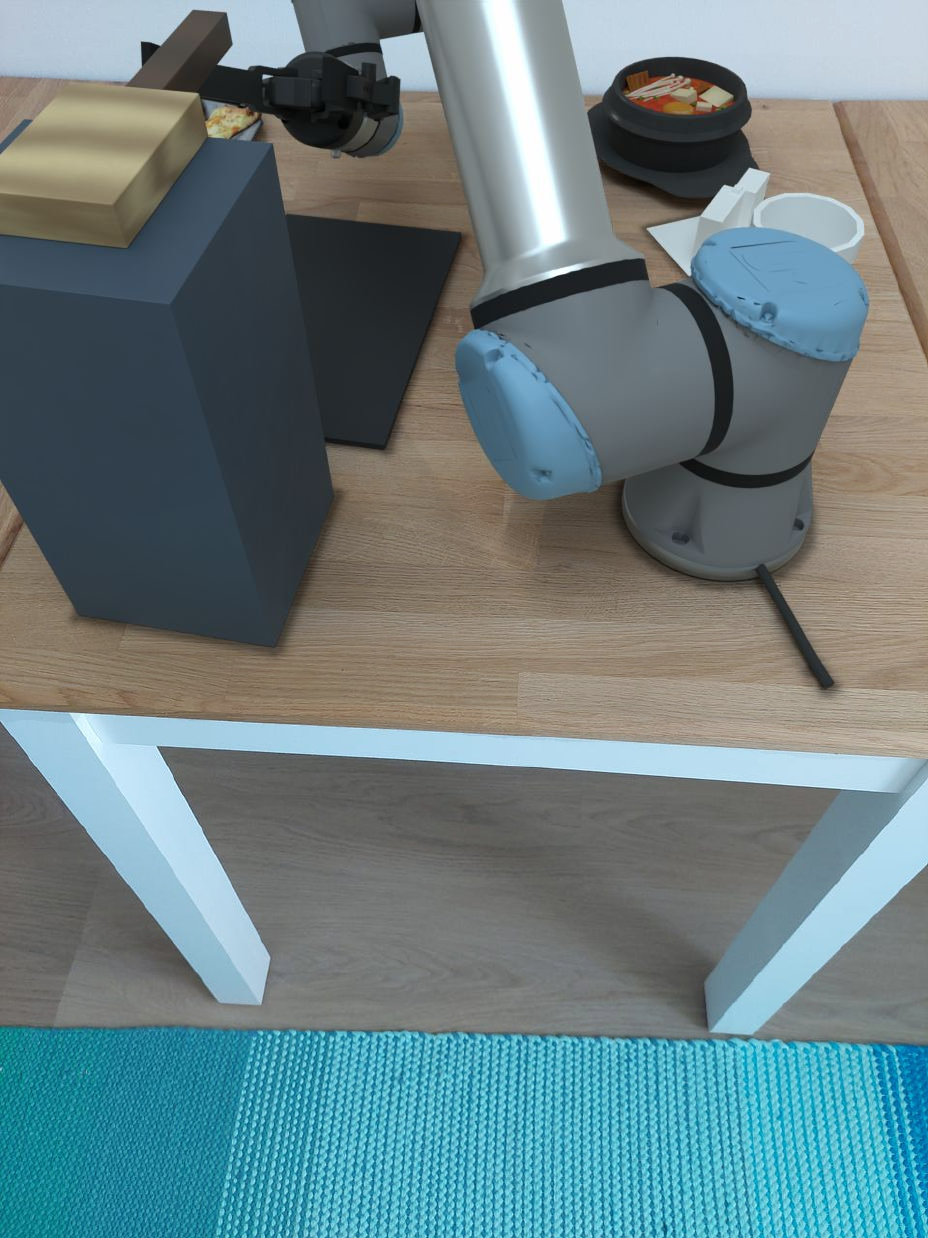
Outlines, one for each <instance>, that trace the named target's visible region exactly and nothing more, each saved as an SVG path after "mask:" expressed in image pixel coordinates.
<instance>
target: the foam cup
mask: <svg viewBox="0 0 928 1238" xmlns="http://www.w3.org/2000/svg"><path fill="white" fill-rule="evenodd" d="M864 223H865V222H864V220H863V218H861V217H860V215H859V214H858V213H857V212H856V211H855V210H854V209H853V208H852V207H850V206H849V205H846V204H845V203H843V202H841V201H839V200H836V199H834V198H833V197H829V196H824V195H820V194H816V193H809V192H786V193H785V192H784V193H781V194H777V195H773V196H771V197H768V198H764V200H763V201H762V202H761V203H760V204H759V205H758V206H757V207H756V208H755V209H754V211H753V215H752V219H751V223H750V226H749V227H762V228H771V229H777V230H782V231H786V232H790V233H793V234H796V235H799V236H801V237H805V238H807V239H810V240H812V241H815V242H817V243H819V244H821V245H823V246H825V247H827V248H829V249H830V250H832V251H834V252H835V253H837V254H838V255H839V256H841V257H842V258H843V259H844V260H846V261H847V262H848V263H849V264H850V265H851V266H852V264H853V263H854V262H855V260H856V259H857V257H858V253H859V251H860V248H861V245H862V243H863V240H864V237H865V225H864Z"/></svg>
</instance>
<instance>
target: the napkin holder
mask: <svg viewBox="0 0 928 1238" xmlns="http://www.w3.org/2000/svg"><path fill="white" fill-rule="evenodd" d="M770 177H771V173H770V172H767V171H763V170H761V169H760V170H756V169H752V168H749V169H748V170H747V172H746V173H745V174H744V176H743V177H742V178H741V180H740V181H739V182H738V184H737V185H735V186H734V187H730V186H727V185H724V186H723V187H722V188H721V190H720V191H719V192H718V194H717V195H716V196H715V197H713V198H712V200H711V201H710V203H708V205H707V206H706V208H705V209H704V210H703V212H702V213H701V215H698V216H693V217H689V218H686V219H681V220H677V221H672V222H668V223H664V224H660V225H654V226H651V227H646V228H645V229H646V230H647V231H648V233H649V234H650V235H651V236H652V237H653V238H654V239H655V240H656V241H657V243H658V244H659V245H660V246H661V248H663V249H664V250H665V251H666V253H667V254H668V255H669V256H670V257H671V258H672V260H674V262H675V263H676V264H677V265H678V266H679V267H680V268H681V269H682V270H683V272H684V273H685V274H686V275H687V276H688V277H690V275H691V274H692V273H691V269H690V266H691V260H692V258H693V257H694V256H695V255H696V254H697V251H698V250H699V249H700V248H701V245H702V243H703V242H704V241H705V240H706V239H707V238H709V237H710V236H712V235H714V234H716V233H718V232H720V231H723V230H727V229H732V228H740V227H749V226H750V223H751V219H752V215H753V211H754V209H755V208H756V207H757V206H758V205H759V204H760V203H761V202H762V201H764V200H765V195H766V192H767V188H768V185H769V181H770Z"/></svg>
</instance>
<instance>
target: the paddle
mask: <svg viewBox="0 0 928 1238" xmlns="http://www.w3.org/2000/svg"><path fill="white" fill-rule="evenodd" d="M233 46H234V43H233V38H232V33H231V28H230V23H229V17H228V12H226V11H216V10H215V11H214V10H203V9H202V10H201V9H191V11H190V12H189V13H188V15H186V17H184V18H183V20H182V21H181V22H180V23H179V24H178V25H177V26H176V28H175V29H174V30H173V31H172V32H171V34H170V35H169V36H168V37H167V38H166V39H165V40H164V41H163V42H162V44H161V45H160V47H159V48H158V50H157V51H156V52H155V53H154V54H153V55H152V56H151V57H150V59H149V60H148V61H147V62H146V63H145V64H144V65H143V67H142V66H141V67H140V69H138V71H137V72H136V73H135V74H134V75H133V77H132V78H131V79H130V80H129V81H128V82H127V83H126V85H113V84H101V83H91V82H79V81H78V82H77V81H69V82H68V84H67V85H66V86H65V87H64V88H63V89H62V90H61V91H60V92H59V93H58V94H57V95H56V96H55V97H54V98H53V99H52V101H50V103H48V104H47V105H46V106H45V108H43V110H41V112H40V113H39V114H38V115H37V116H36V117H34V119H32V120H33V121H32V122H31V123H30V124H29V125H28V126H27V127H26V129H25V130H24V131H23V132H22V133H21V134H20V135H19V136H18V137H17V138H16V139H15V140H14V141H13V142H12V143H11V144H10V145H9V146H8V147H7V148H6V149H5V150H4V151H3V152H2V153H1V154H0V234H1V235H10V236H19V237H28V238H36V239H45V240H54V241H63V242H72V243H80V244H89V245H98V246H107V247H116V248H124V249H126V248H128V247H129V245H130V244H131V243H132V241H133V240H134V238H135V237H136V236H137V234H138V233H139V231H140V230H141V229H142V227H143V226H144V225H145V223H146V222H147V220H148V219H149V218H150V216H151V215H152V214H153V212H154V211H155V209H156V208H157V207H158V205H159V204H160V202H161V201H162V200H163V198H164V197H165V196H166V194H167V193H168V191H169V190H170V189H171V187H172V186H173V185H174V183H175V182H176V180H177V179H178V178H179V176H180V175H181V173H182V172H183V171H184V169H185V168H186V167H187V165H188V164H189V162H190V161H191V160H192V158H193V157H194V155H195V154H196V153H197V151H198V150H199V149H200V147H201V146H202V144H203V143H204V142H205V140H206V139H207V138H208V132H207V127H206V123H205V118H204V114H203V110H202V105H201V101H200V96H199V93H196V91H197V90H198V89H199V87H200V86H201V85H202V84H203V82H204V81H205V80H206V78H207V77H208V76H209V75H210V73H211V72H212V71H213V70H214V68H215V67H216V66H217V65H219V64H220V62H221V61H222V59H223V58H224V57H225V56H226V54H227V53H228V52H229V51H230V50H231V48H232V47H233Z"/></svg>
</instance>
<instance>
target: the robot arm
mask: <svg viewBox="0 0 928 1238" xmlns="http://www.w3.org/2000/svg"><path fill="white" fill-rule="evenodd" d="M290 2H291V4H292V6H293V10H294V13H295V14H294V15H295V18H296V22H297V25H298V29H299V34H300V37H301V40H302V44H303V48H304V52H302V53H300V54H298V55H296V56H295V57H293V58H292V59H291V60H290V61H289V62H287V64H286V65H285V66H280V67H271V66H266V65H260V64H259V65H250V66H249V67H248V68H247V69H244V68H240V67H233V66H226V65H222V64H217V66H216V67H215V68H214V70H213V71H212V72H211V73H210V75H209V76H208V77H207V78H206V80H205V81H204V82H203V84H202V85H201V86H200V87H199V89H198V90H197V91H196V93H199V96H200V99H201V100H207V101H212V102H218V103H224V104H228V105H232V106H237V107H238V108H240V109H244V108H246V107H248V108H249V110H250V111H252V112H257V113H262V114H265V115H272V116H274V117H276V119H278V120H280V122H281V123H282V125H283V127H284V128H285V130H286V131H287V132H288V133H289V135H290V136H291V137H292V138H294V139H295V141H297V142H299V143H301V144H302V145H305V146H308V147H312V148H315V149H321V150H329V151H330V157H331V158H333V159H340V158H341V157H342V153H343V154H345V155H347V156H350V157H352V158H357V159H365V158H372V157H374V158H375V157H380V156H382V155H384V154H386V153H387V152H389V151H390V150H392V149H393V147H394V146H395V145H396V144H397V142H398V141H399V139H400V136H401V135H402V131H403V128H404V119H405V118H404V109H403V105H402V103H401V100H400V99H401V83H402V80H401V78H400V77H398V76H396V75H389V76H388V73H387V68H386V64H385V59H384V52H383V47H382V45H381V40H386V39H392V38H397V37H403V36H408V35H409V36H410V35H414V34H420V33H423V35H424V39H425V44H426V47H427V50H428V55H429V58H430V63H431V67H432V70H433V74H434V79H435V83H436V87H437V90H438V94H439V98H440V103H441V107H442V110H443V115H444V118H445V122H446V126H447V131H448V134H449V137H450V143H451V145H452V146H451V147H452V151H453V155H454V158H455V162H456V166H457V169H458V175H459V178H460V183H461V186H462V191H463V194H464V198H465V202H466V206H467V210H468V214H469V218H470V222H471V226H472V230H473V234H474V238H475V242H476V246H477V250H478V253H479V257H480V261H481V266H482V270H483V275H482V279H481V283H480V285H479V286H478V289H477V290H476V292H475V294H474V296H473V298H472V300H471V301H470V303H469V305H468V307H469V314H470V317H471V318H470V319H471V322H472V325H473V330H470V331H468V333H467V334H466V335H465V336H464V337H462V338H461V339H460V340H459V342H458V343H457V346H456V350H455V355H454V364H455V371H456V373H457V376H458V382H457V385H458V389H459V395H460V398H461V401H462V403H463V404H462V405H463V408H464V410H465V412H466V416H467V418H468V421H469V424H470V426H471V428H472V430H473V431H472V432H474V435H475V437H476V439H477V441H478V444H479V445H480V447H481V449H482V451H483V453H484V454H485V457H486V458H487V459H488V461H489V463H490V464H491V466H492V467H493V469H494V470H495V471H496V472H497V474H498V476H499V477H500V478H501V479H502V481H503V482H504V483H505V484H506V486H508V487H509V488H510V489H512V490H513V491H514V492H515V493H516V494H518V495H520V496H522V497H524V498H526V499H528V500H533V501H549V500H553V499H557V498H561V497H567V496H569V495H574V494H578V493H582V494H583V493H590V494H591V493H593V492H595V491H598V490H599V489H600V487H601V486H605V485H608V484H612V483H615V482H619V481H621V480H624V485H623V490H622V496H621V509H622V516H623V519H624V522H625V524H626V527H627V529H628V531H629V532H630V534H631V535H632V538H634V540H635V541H636V542H637V543H638V544H639V546H640V547H641V548H642V549H643V550H644V551H646V552H647V553H648V554H649V555H650V556H652V557H653V558H654V559H656V560H657V561H658V562H660V563H662V564H663V565H666V566H667V567H669V568H671V569H673V570H676V571H677V572H681V573H683V574H685V575H689V576H691V577H696V578H701V579H705V580H711V581H722V582H725V581H726V582H727V581H728V582H730V581H732V582H734V581H744V580H745V581H746V580H750V579H755V578H759V579H760V581H761V583H762V585H763V586H764V588H765V589H766V592H767V593H768V595H769V597H770V599H771V600H772V602H773V604H774V605H775V607H776V609H777V610H778V613H779V614H780V616H781V617H782V619H783V621H784V623H785V624H786V626H787V628H788V630H789V632H790V634H791V636H792V638H793V639H794V641H795V643H796V645H797V647H798V649H799V650H800V652H801V653H802V655H803V657H804V658H805V660H806V662H807V663H808V665H809V667H810V668H811V671H812V672H813V673H814V675H815V676H816V678H817V679H818V681H819V682H820V684H821V686H822V687H823V689H828V688H830V687H832V686H834V684H835V680H834V679H833V677H832V676H831V675H830V673H829V671H828V670H827V669H826V667H825V666H824V664H823V662H822V661H821V659H820V658H819V656H818V654H817V653H816V651H815V649H814V648H813V646H812V644H811V642H810V641H809V639H808V637H807V635H806V634H805V631H804V630H803V628H802V626H801V625H800V623H799V620H798V619H797V617H796V616H795V614H794V612H793V611H792V609H791V607H790V606H789V605H790V604H788V602H787V600H786V598H785V597H784V595H783V593H782V591H781V590H780V588H779V586H778V585H777V583H776V581H775V580H774V578H773V576H772V575H771V574H772V573H773V572H774V571H776V570H778V569H781V568H782V567H783V566H785V565H786V564H787V563H789V562H790V561H791V560H792V559H793V558H794V557H795V556H796V554H797V553H798V552H799V550H800V549H801V547H802V545H803V544H804V541H805V539H806V536H807V534H808V532H809V530H810V527H811V524H812V520H813V513H814V512H813V511H814V493H813V492H814V490H813V469H812V466H813V465H812V459H813V456H814V454H815V452H816V449H817V446H818V444H819V441H820V439H821V437H822V435H823V432H824V430H825V427H826V426H827V425H826V424H827V422H828V420H829V418H830V415H831V413H832V410H833V408H834V406H835V403H836V401H837V398H838V397H839V394H840V391H841V389H842V386H843V384H844V382H845V379H846V377H847V375H848V372H849V370H850V367H851V365H852V363H853V360H854V358H855V357H856V356H857V355H858V352H859V350H860V347H861V345H860V344H861V340H860V338H861V336H862V333H863V329H864V327H865V324H866V322H867V321H866V320H867V318H868V315H869V311H870V309H869V308H870V298H869V292H868V288H867V285H866V284H865V282H864V280H863V278H862V276H861V275H860V273H858V271H857V270H856V269H855V268H854V267H853V266H852V264H851V265H850V264H849V263H848V262H847V261H846V260H844V259H843V258H842V257H841V256H839V255H838V254H837V253H835V252H834V251H832V250H830V249H829V248H827V247H825V246H823V245H821V244H819V243H817V242H815V241H812V240H810V239H807V238H805V237H801V236H799V235H796V234H793V233H790V232H786V231H782V230H777V229H771V228H762V227H740V228H732V229H727V230H723V231H720V232H718V233H716V234H714V235H712V236H710V237H709V238H707V239H706V240H705V241H704V242H703V243H702V245H701V248H700V249H699V250H698V251H697V254H696V255H695V256H694V257H693V258H692V260H691V266H690V269H691V273H692V274H691V275H690V277H689V276H688V277H687V278H685V279H682V280H679V281H676V282H672V283H668V284H664V285H659V286H656V287H652V286H651V281H650V277H649V273H648V268H647V264H646V258H645V255H644V253H642V252H641V251H639V250H637V249H636V248H634V247H632V246H631V245H629V244H627V243H626V242H624V241H623V240H621V239H619V237H618V236H617V235H616V234H615V231H614V228H613V224H612V219H611V214H610V211H609V206H608V201H607V197H606V192H605V187H604V184H603V183H604V182H603V178H602V174H601V170H600V165H599V160H598V156H597V154H596V151H595V147H594V142H593V138H592V133H591V128H590V124H589V120H588V115H587V112H588V110H587V107H586V102H585V98H584V94H583V93H584V92H583V89H582V84H581V80H580V75H579V69H578V65H577V60H576V57H575V53H574V49H573V44H572V43H573V42H572V40H571V35H570V30H569V26H568V20H567V17H566V16H567V15H566V12H565V8H564V3H563V0H290ZM160 46H161V45H159V44H156V43H154V42H151V41H142V40H141V41H140V59H141V68H142V67H143V65H144V64H145V63H146V62H147V61H148V60H149V59H150V57H151V56H152V55H153V54H154V53H155V52H156V51H157V50H158V48H159V47H160ZM264 76H269V77H266V78H263V77H264Z"/></svg>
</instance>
